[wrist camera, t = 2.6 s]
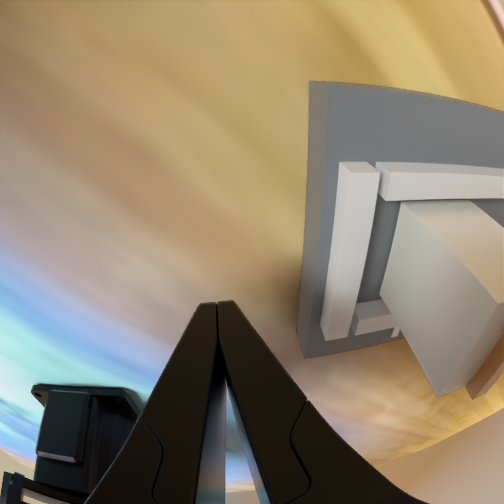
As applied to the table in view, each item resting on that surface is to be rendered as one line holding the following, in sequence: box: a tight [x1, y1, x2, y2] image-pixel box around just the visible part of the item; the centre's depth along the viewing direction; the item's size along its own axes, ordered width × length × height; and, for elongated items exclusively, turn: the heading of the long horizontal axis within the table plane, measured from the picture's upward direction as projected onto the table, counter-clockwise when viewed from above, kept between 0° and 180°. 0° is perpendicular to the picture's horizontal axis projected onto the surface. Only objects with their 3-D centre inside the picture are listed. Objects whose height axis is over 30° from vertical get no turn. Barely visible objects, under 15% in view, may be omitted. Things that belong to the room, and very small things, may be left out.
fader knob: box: [379, 200, 504, 400], centre depth 8 cm, size 4×3×5 cm
